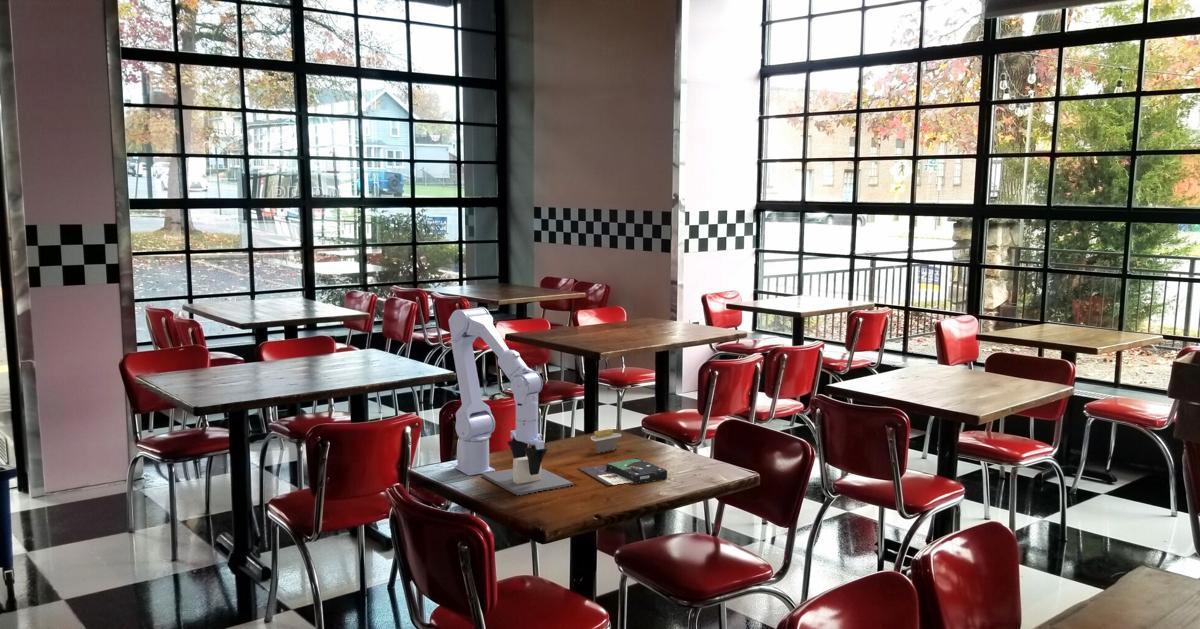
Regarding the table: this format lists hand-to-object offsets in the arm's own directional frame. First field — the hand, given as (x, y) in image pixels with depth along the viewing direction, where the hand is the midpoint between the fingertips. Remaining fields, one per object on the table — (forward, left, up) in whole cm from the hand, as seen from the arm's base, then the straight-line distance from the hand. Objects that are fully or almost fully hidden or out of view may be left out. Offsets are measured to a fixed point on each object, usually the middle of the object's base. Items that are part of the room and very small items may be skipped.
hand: (527, 470), depth 250 cm
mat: (-2, +1, -3) cm, 4 cm away
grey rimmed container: (-17, +35, -4) cm, 39 cm away
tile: (0, 0, -3) cm, 3 cm away
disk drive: (+8, +29, -4) cm, 30 cm away
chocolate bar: (+5, +22, -4) cm, 23 cm away
